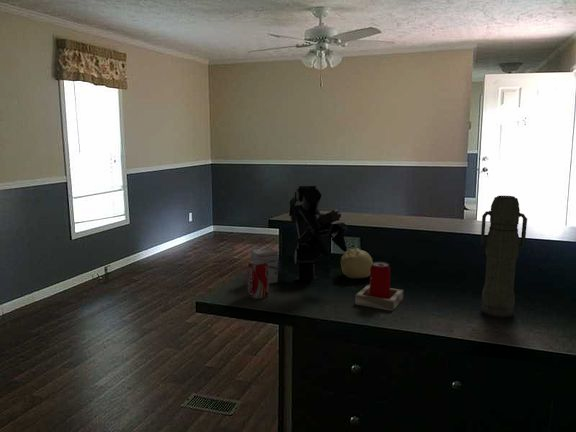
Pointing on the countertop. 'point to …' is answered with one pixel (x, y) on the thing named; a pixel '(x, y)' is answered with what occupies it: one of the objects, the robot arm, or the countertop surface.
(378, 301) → the can holder
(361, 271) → the sculpture
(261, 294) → the soda can
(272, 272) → the ink box
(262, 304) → the countertop surface
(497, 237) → the thermos
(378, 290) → the beverage can
